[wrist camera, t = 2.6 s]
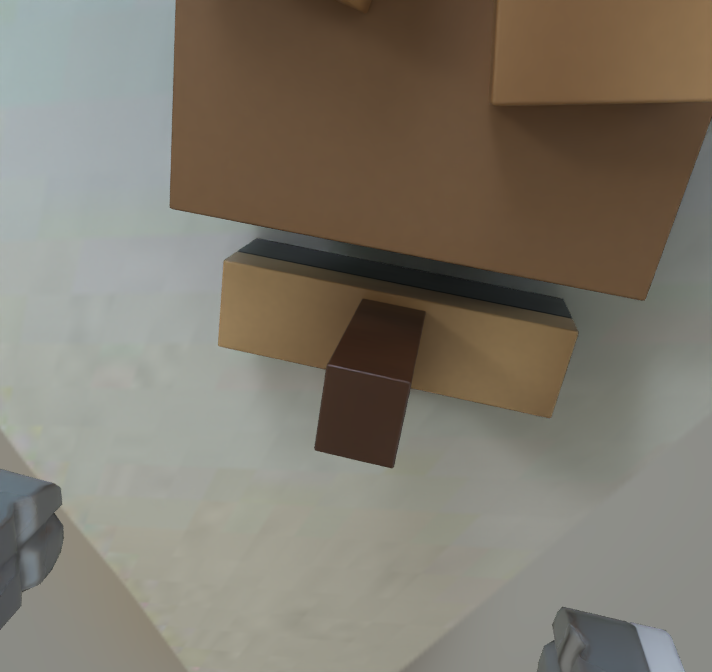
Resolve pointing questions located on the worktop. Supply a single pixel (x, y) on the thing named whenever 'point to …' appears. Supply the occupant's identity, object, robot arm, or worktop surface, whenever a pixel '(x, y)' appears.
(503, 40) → the chip
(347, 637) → the worktop surface
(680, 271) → the worktop surface
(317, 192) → the cabinet
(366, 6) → the chip
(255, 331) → the brush
